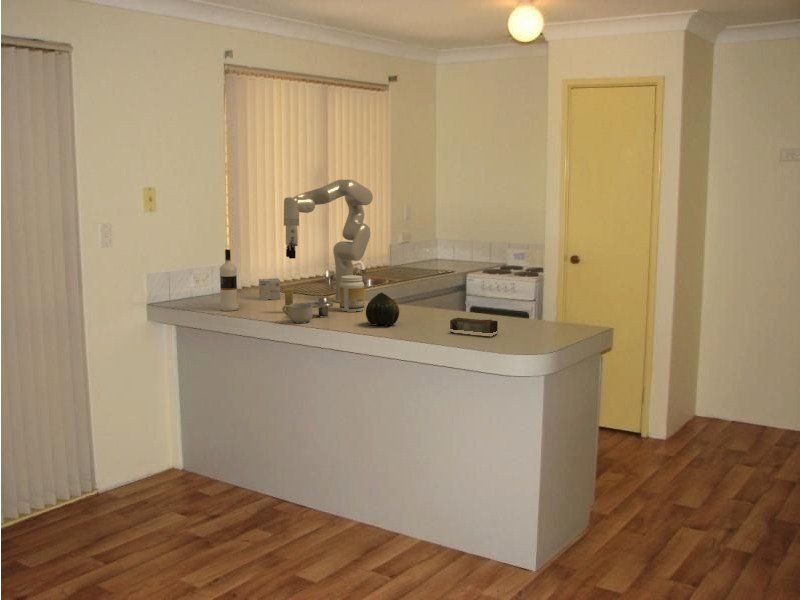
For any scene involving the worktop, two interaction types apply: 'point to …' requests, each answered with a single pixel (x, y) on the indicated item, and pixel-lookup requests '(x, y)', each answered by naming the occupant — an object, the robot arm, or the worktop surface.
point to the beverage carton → (474, 325)
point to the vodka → (228, 285)
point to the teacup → (299, 312)
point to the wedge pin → (288, 297)
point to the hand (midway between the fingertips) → (290, 257)
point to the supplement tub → (351, 293)
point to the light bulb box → (269, 289)
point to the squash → (382, 310)
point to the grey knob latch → (322, 305)
